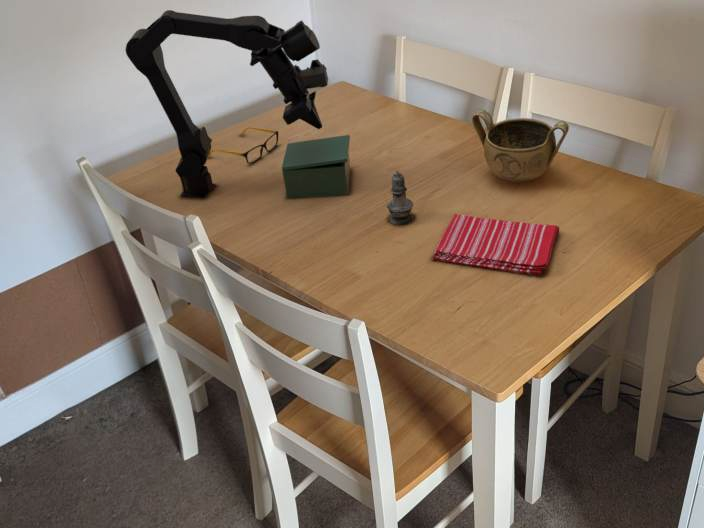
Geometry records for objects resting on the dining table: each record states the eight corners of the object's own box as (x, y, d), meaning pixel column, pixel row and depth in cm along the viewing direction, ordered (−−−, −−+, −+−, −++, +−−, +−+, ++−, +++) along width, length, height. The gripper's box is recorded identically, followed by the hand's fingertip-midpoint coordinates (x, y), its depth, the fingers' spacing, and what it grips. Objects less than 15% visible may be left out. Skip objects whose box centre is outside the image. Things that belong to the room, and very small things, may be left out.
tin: (350, 169, 199) (347, 142, 195) (348, 194, 189) (344, 167, 185) (292, 173, 200) (288, 146, 196) (287, 198, 190) (282, 171, 186)
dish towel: (545, 278, 157) (545, 266, 156) (430, 261, 165) (430, 250, 163) (561, 232, 169) (562, 221, 168) (454, 219, 177) (454, 208, 175)
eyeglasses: (249, 168, 204) (246, 153, 202) (207, 157, 211) (203, 143, 208) (283, 144, 213) (280, 130, 211) (241, 135, 220) (238, 121, 217)
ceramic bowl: (461, 184, 189) (460, 125, 180) (487, 152, 200) (487, 95, 191) (552, 200, 180) (556, 139, 171) (574, 166, 192) (579, 107, 182)
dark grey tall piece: (395, 228, 176) (391, 179, 169) (383, 216, 180) (378, 169, 173) (418, 220, 178) (415, 171, 170) (406, 209, 182) (402, 161, 175)
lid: (350, 137, 194) (349, 134, 193) (347, 161, 184) (346, 158, 184) (288, 146, 196) (287, 143, 195) (282, 170, 186) (281, 167, 185)
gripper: (308, 68, 167) (347, 128, 176) (315, 38, 182) (351, 94, 190) (265, 94, 171) (306, 152, 179) (275, 62, 186) (313, 117, 194)
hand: (320, 127), depth 186 cm, fingers closed
